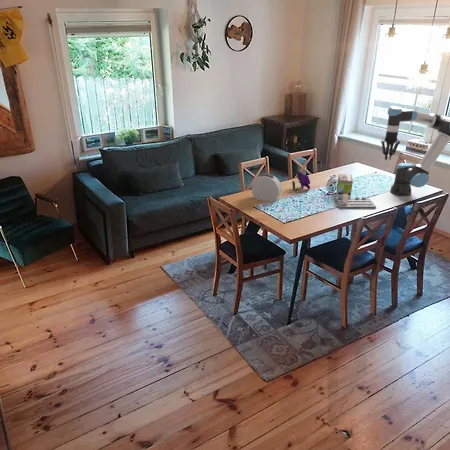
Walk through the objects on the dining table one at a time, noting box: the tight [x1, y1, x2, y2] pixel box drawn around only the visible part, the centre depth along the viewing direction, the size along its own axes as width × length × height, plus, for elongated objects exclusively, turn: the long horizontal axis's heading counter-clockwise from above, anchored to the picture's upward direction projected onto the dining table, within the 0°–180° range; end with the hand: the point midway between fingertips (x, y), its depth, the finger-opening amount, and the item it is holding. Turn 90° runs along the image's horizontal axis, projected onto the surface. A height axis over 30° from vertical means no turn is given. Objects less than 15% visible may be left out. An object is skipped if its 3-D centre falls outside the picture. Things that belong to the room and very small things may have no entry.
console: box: [334, 196, 377, 210], centre depth 307 cm, size 26×15×3 cm, turn 89°
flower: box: [291, 170, 311, 192], centre depth 333 cm, size 15×15×14 cm
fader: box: [342, 194, 348, 203], centre depth 306 cm, size 3×3×7 cm
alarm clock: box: [251, 173, 283, 203], centre depth 314 cm, size 21×8×20 cm, turn 65°
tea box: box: [336, 173, 354, 199], centre depth 321 cm, size 15×10×15 cm, turn 168°
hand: (386, 164), depth 298 cm, fingers closed
